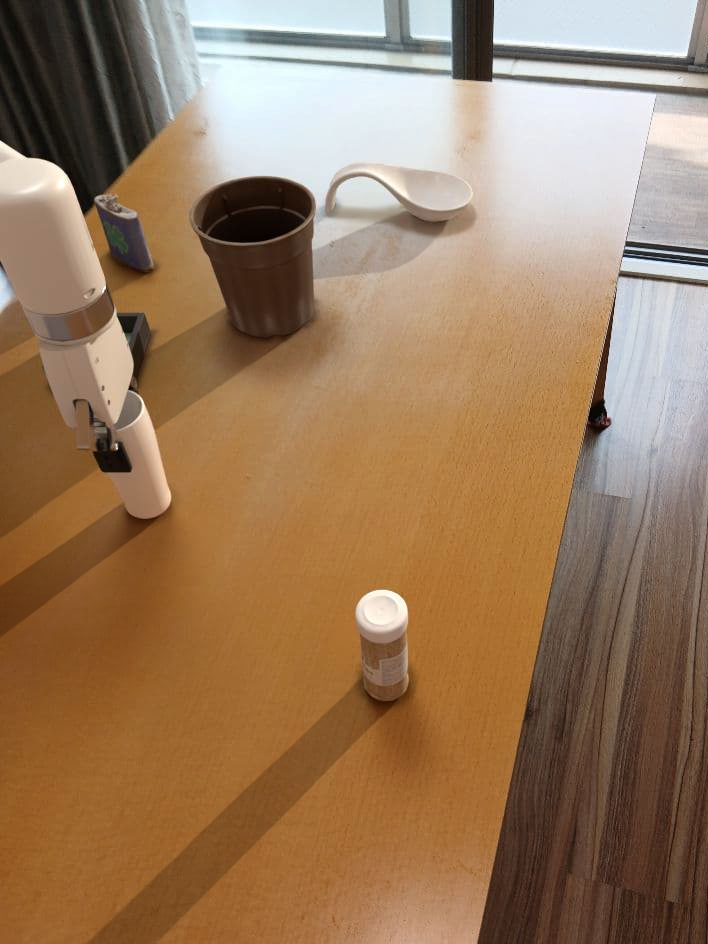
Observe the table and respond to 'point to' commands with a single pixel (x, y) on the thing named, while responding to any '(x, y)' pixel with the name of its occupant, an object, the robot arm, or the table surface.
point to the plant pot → (260, 251)
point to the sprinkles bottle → (383, 644)
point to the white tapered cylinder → (139, 461)
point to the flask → (124, 233)
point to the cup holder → (135, 336)
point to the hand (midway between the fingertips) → (125, 443)
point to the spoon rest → (410, 189)
